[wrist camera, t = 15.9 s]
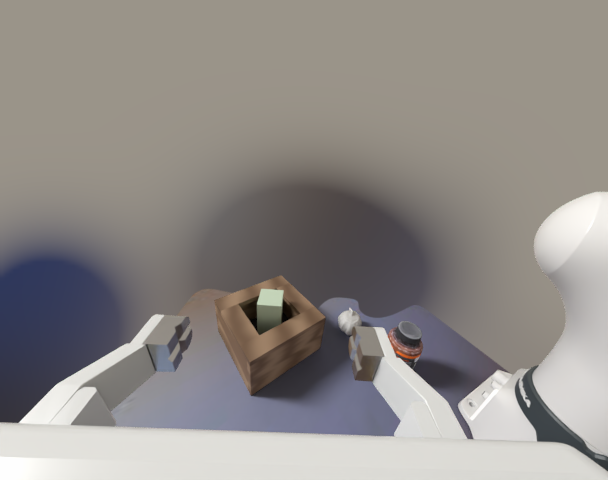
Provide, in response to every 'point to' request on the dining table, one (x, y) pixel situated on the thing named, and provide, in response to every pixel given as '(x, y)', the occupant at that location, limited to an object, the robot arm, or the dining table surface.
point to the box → (268, 333)
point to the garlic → (349, 321)
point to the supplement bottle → (406, 342)
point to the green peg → (269, 309)
